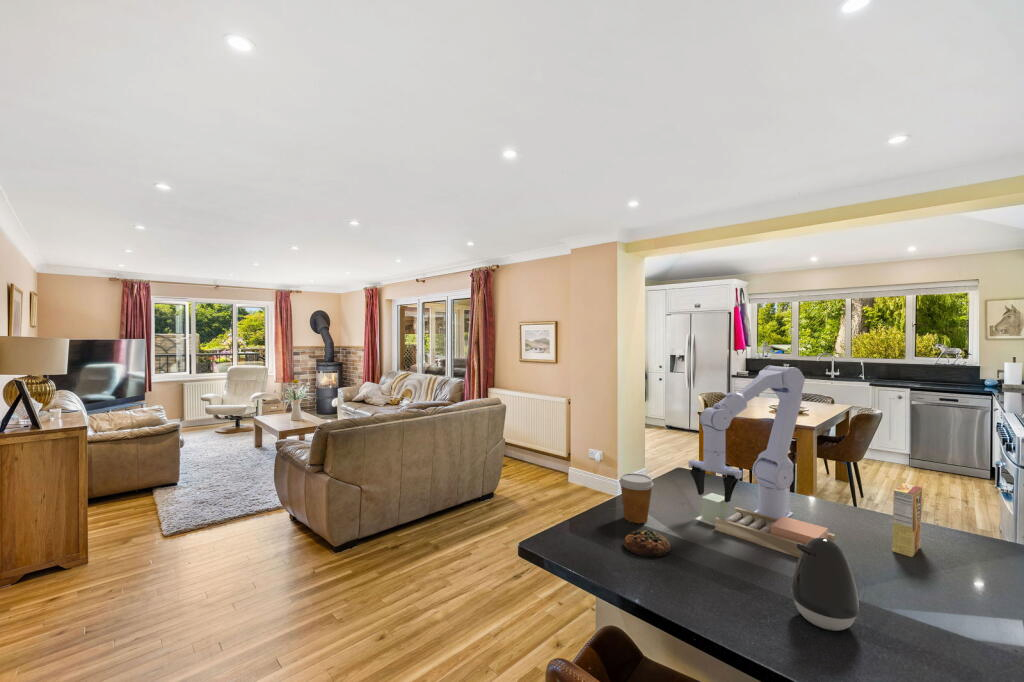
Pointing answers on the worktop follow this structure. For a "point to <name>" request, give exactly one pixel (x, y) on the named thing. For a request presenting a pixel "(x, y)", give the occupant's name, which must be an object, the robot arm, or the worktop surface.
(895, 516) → the candy box
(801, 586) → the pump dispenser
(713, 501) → the block
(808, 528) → the slab
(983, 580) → the worktop surface
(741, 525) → the roller bed
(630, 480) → the disposable coffee cup
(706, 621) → the worktop surface
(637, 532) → the bread roll
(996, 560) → the worktop surface
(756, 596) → the worktop surface
